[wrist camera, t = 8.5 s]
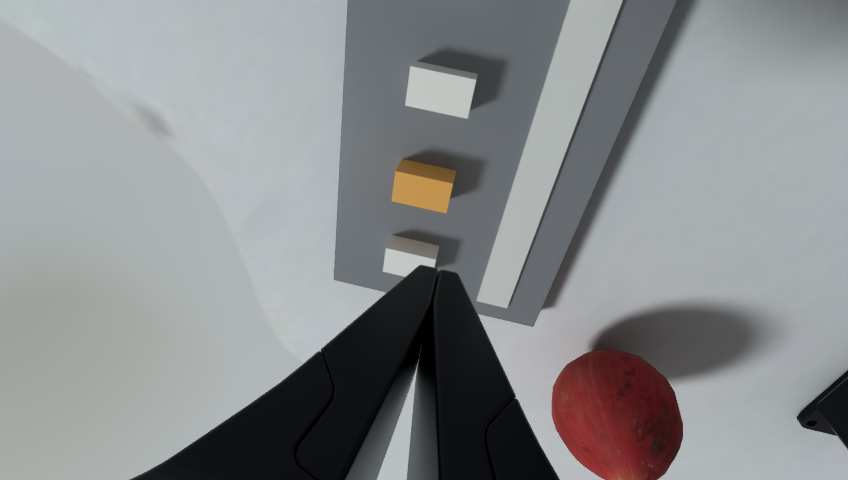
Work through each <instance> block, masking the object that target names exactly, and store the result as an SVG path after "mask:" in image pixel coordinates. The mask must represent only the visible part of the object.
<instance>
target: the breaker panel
mask: <svg viewBox="0 0 848 480" xmlns="http://www.w3.org/2000/svg"><path fill="white" fill-rule="evenodd" d="M676 2H677V0H348V6H347V26H346V46H345V66H344V86H343V106H342V126H341V146H340V166H339V187H338V207H337V227H336V247H335V267H334V280H337V281H341V282H345V283H349V284H354V285H358V286H362V287H366V288H371V289H375V290H379V291H383V292H388V291H390V290H391V289H392V288H393V287H394V286H395V285H397V284H398V283H399V282H400V281H401V280H402V279H404V278H405V277H406V276H407V275H408V274H409V273H411V272H412V271H413V270H414V269H415V268H416V267H418V266H419V265H425V266H430V267H434V268H437V269H438V272H439V271H440V270H441V269H443V270H447V271H452V272H456V273H458V274H459V276H460V278H461V280H462V282H463V284H464V287H465V289H466V291H467V293H468V295H469V297H470V299H471V301H472V304H473V306H474V308H475V310H476V312H477V314H481V315H485V316H489V317H494V318H498V319H502V320H506V321H511V322H515V323H519V324H523V325H528V326H532V327H533V326H534V324H535V322H536V320H537V317H538V315H539V313H540V311H541V308H542V306H543V304H544V301H545V299H546V297H547V295H548V292H549V290H550V288H551V286H552V283H553V281H554V279H555V276H556V274H557V272H558V270H559V267H560V265H561V263H562V261H563V258H564V256H565V254H566V251H567V249H568V247H569V245H570V242H571V240H572V238H573V236H574V233H575V231H576V229H577V226H578V224H579V222H580V220H581V217H582V215H583V213H584V211H585V208H586V206H587V204H588V201H589V199H590V197H591V195H592V192H593V190H594V188H595V186H596V183H597V181H598V179H599V176H600V174H601V172H602V170H603V167H604V165H605V163H606V161H607V158H608V156H609V154H610V151H611V149H612V147H613V145H614V142H615V140H616V138H617V136H618V133H619V131H620V129H621V126H622V124H623V122H624V120H625V117H626V115H627V113H628V111H629V108H630V106H631V104H632V101H633V99H634V97H635V95H636V92H637V90H638V88H639V86H640V83H641V81H642V79H643V76H644V74H645V72H646V70H647V67H648V65H649V63H650V61H651V58H652V56H653V54H654V51H655V49H656V47H657V45H658V42H659V40H660V38H661V36H662V33H663V31H664V29H665V27H666V24H667V22H668V20H669V17H670V15H671V13H672V11H673V8H674V6H675V4H676ZM402 159H406V160H410V161H415V162H419V163H424V164H428V165H433V166H438V167H442V168H447V169H451V170H456V174H455V178H454V183H453V187H452V192H451V196H450V201H449V205H448V209H447V213H442V212H438V211H433V210H429V209H424V208H420V207H415V206H411V205H406V204H402V203H397V202H393V201H391V200H392V193H393V185H394V178H395V171H396V169H397V167H398V166H399V164H400V162H401V160H402Z"/></svg>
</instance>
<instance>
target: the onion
mask: <svg viewBox="0 0 848 480" xmlns="http://www.w3.org/2000/svg"><path fill="white" fill-rule="evenodd" d="M552 418H553V421H554V424H555V427H556V430H557V432H558V433H559V435H560V437H561V438H562V440H563V442H564V443H565V445H566V446H567V448H568V449H569V451H570V452H571V453H572V455H573V456H574V457H575V458H576V459H577V460H578V461H579V462H580V463H581V464H582V465H583V466H585V467H586V468H587V469H589V470H590V471H592V472H593V473H595V474H596V475H598V476H599V477H601V478H603V479H605V480H657V479H659V478H660V477H661V476H663V475H664V474H665V473H666V471H667V470H668V468H669V466H670V465H671V463H672V462H673V460H674V459H675V457H676V455H677V453H678V451H679V449H680V446H681V442H682V438H683V423H682V419H681V415H680V411H679V407H678V403H677V400H676V396H675V392H674V391H673V389H672V387H671V386H670V384H669V382H668V381H667V379H666V378H665V377H664V376H663V375H662V374H661V373H659V372H658V371H657V370H656V369H655V368H654V367H652V366H651V365H650V364H649V363H647V362H646V361H645V360H643V359H642V358H641V357H639V356H636V355H633V354H629V353H626V352H622V351H618V350H613V349H611V350H596V351H593V352H589V353H586V354H583V355H582V356H580V357H578V358H577V359H575V360H574V361H572V362H570V363H569V364H567V365H566V366H565V368H564V369H563V370H562V372H561V373H560V375H559V376H558V378H557V380H556V382H555V384H554V386H553V393H552Z"/></svg>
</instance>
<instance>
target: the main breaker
mask: <svg viewBox="0 0 848 480" xmlns="http://www.w3.org/2000/svg"><path fill="white" fill-rule="evenodd" d="M455 174H456V170H451V169H447V168H442V167H438V166H433V165H428V164H424V163H419V162H415V161H410V160H406V159H402V160H401V162H400V164H399V166H398V167H397V169H396V171H395V178H394V185H393V193H392V200H391V201H393V202H397V203H402V204H406V205H411V206H415V207H420V208H424V209H429V210H433V211H438V212H442V213H447V209H448V205H449V201H450V196H451V192H452V187H453V183H454V178H455Z"/></svg>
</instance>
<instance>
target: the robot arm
mask: <svg viewBox="0 0 848 480" xmlns="http://www.w3.org/2000/svg"><path fill="white" fill-rule="evenodd" d="M422 342H423V343H422ZM420 351H421V352H420ZM419 355H420V356H419ZM418 360H419V361H418ZM417 364H418V367H417ZM416 367H417V373H416V382H415V394H414V405H413V416H412V427H411V439H410V450H409V461H408V473H407V480H560V479H559V477H558V476H557V474H556V472H555V471H554V469H553V467H552V465H551V464H550V462H549V460H548V458H547V457H546V455H545V453H544V451H543V450H542V448H541V446H540V444H539V442H538V440H537V438H536V436H535V434H534V432H533V430H532V428H531V426H530V424H529V422H528V420H527V418H526V416H525V414H524V412H523V410H522V408H521V406H520V403H519V401H518V400H517V399H515V398H516V395H515V393H514V391H513V389H512V387H511V385H510V382H509V380H508V378H507V376H506V374H505V372H504V370H503V368H502V365H501V363H500V361H499V359H498V357H497V355H496V353H495V350H494V348H493V346H492V344H491V342H490V340H489V338H488V336H487V333H486V331H485V329H484V327H483V325H482V323H481V321H480V318H479V316H478V314H477V312H476V310H475V308H474V306H473V304H472V301H471V299H470V297H469V295H468V293H467V291H466V289H465V287H464V284H463V282H462V280H461V278H460V276H459V274H458V273H456V272H452V271H447V270H443V269H441V270H440V271H439V272H438V269H437V268H434V267H430V266H425V265H419V266H418V267H416V268H415V269H414V270H413V271H412V272H411V273H409V274H408V275H407V276H406V277H405V278H404V279H402V280H401V281H400V282H399V283H398V284H397V285H395V286H394V287H393V288H392V289H391V290H390V291H388V292H387V293H386V294H385V295H384V296H383V297H381V298H380V299H379V300H378V301H377V302H376V303H374V304H373V305H372V306H371V307H370V308H368V309H367V310H366V311H365V312H364V313H363V314H361V315H360V316H359V317H358V318H357V319H356V320H354V321H353V322H352V323H351V324H350V325H349V326H347V327H346V328H345V329H344V330H343V331H342V332H340V333H339V334H338V335H337V336H336V337H335V338H333V339H332V340H331V341H330V342H329V343H328V344H326V345H325V346H324V347H323V348H322V349H321V352H320V351H318V352H317V353H316V354H314V355H313V356H312V357H311V358H310V359H309V360H307V361H306V362H305V363H304V364H303V365H302V366H300V367H299V368H298V369H297V370H296V371H294V372H293V373H292V374H290V375H289V376H288V377H287V378H285V379H284V380H283V381H282V382H280V383H279V384H278V385H276V386H275V387H273V388H272V389H271V390H269V391H268V392H266V393H265V394H263V395H262V396H261V397H259V398H258V399H257V400H255V401H254V402H252V403H251V404H249V405H248V406H246V407H245V408H243V409H242V410H241V411H239V412H238V413H236V414H235V415H233V416H232V417H230V418H229V419H227V420H226V421H224V422H223V423H221V424H220V425H218V426H217V427H215V428H214V429H212V430H211V431H209V432H208V433H207V434H205V435H204V436H202V437H201V438H199V439H198V440H196V441H195V442H193V443H192V444H190V445H189V446H187V447H186V448H184V449H183V450H181V451H180V452H179V453H177V454H176V455H174V456H173V457H171V458H169V459H168V460H166V461H165V462H163V463H161V464H160V465H158V466H156V467H154V468H152V469H151V470H149V471H147V472H145V473H143V474H141V475H139V476H137V477H134V478H132V479H130V480H376V479H377V477H378V474H379V471H380V468H381V466H382V463H383V460H384V457H385V455H386V452H387V449H388V446H389V444H390V441H391V438H392V435H393V433H394V430H395V427H396V424H397V421H398V419H399V416H400V413H401V410H402V408H403V405H404V402H405V399H406V397H407V394H408V391H409V388H410V386H411V383H412V380H413V377H414V374H415V371H416ZM797 420H798V421H799V423H800V424H801V426H802V427H804V428H807V429H811V430H815V431H819V432H823V433H828V434H832V435H836V436H838V437H839V439H840V440H841V441H842V443H843V444H844V445H845V447H846V448H847V449H848V372H847V373H846V374H845V375H843V376H842V377H841V378H840V379H839V380H838V381H837V382H835V383H834V384H833V385H832V386H831V387H830V388H829V389H827V390H826V391H825V392H824V393H823V394H822V395H821V396H819V397H818V398H817V399H816V400H815V401H814V402H812V403H811V404H810V405H809V406H808V407H807V408H806V409H804V410H803V411H802V412H801V413H800V414H799V415H798V416H797Z"/></svg>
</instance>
